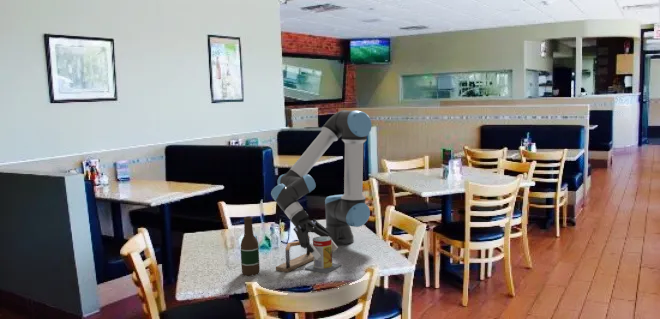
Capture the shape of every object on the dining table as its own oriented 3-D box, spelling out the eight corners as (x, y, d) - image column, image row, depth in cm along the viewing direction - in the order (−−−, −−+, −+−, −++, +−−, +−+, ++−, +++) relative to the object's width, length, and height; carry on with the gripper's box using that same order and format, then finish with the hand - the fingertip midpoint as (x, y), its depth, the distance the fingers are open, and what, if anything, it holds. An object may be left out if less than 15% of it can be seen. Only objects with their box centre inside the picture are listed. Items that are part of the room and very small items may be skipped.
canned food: (335, 264, 244) (334, 237, 243) (327, 269, 237) (326, 241, 236) (318, 262, 247) (317, 235, 246) (310, 268, 240) (309, 240, 239)
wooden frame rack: (309, 255, 261) (308, 234, 260) (320, 256, 258) (319, 236, 256) (276, 270, 241) (274, 247, 240) (287, 272, 238) (286, 249, 237)
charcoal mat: (320, 262, 250) (319, 260, 250) (341, 265, 244) (341, 264, 244) (305, 269, 241) (305, 268, 241) (326, 273, 235) (326, 272, 235)
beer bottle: (263, 270, 241) (260, 215, 238) (255, 276, 234) (252, 219, 231) (246, 269, 244) (243, 214, 240) (238, 275, 236) (234, 218, 233)
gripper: (308, 214, 258) (338, 251, 252) (274, 226, 238) (305, 266, 232) (318, 204, 255) (348, 241, 248) (284, 215, 235) (315, 256, 228)
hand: (327, 253), depth 240 cm, fingers open, 12 cm apart
